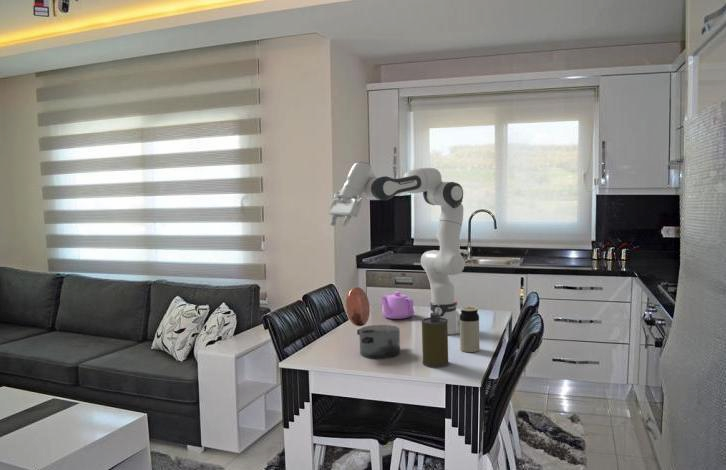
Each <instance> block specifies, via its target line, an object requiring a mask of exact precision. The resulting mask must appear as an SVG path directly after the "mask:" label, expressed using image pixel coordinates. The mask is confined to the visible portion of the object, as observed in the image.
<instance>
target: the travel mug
mask: <svg viewBox="0 0 726 470" xmlns="http://www.w3.org/2000/svg"><path fill="white" fill-rule="evenodd" d="M459 310H460V313H459V314H460V334H459V341H460V342H459V346H460V347H459V349H460V351H462V352H465V353H477V352H479V351H480V315H479V313H478V310H479V308H478V307H476V306H470V305H469V306H467V305H466V306H462V307H460V309H459Z"/></svg>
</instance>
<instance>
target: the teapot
mask: <svg viewBox="0 0 726 470" xmlns="http://www.w3.org/2000/svg"><path fill="white" fill-rule="evenodd" d="M381 298H382V299H381V301H382V306H381V313H382V314H383V316H384V317H385V318H387V319H394V320H403V319H408V318H411V316H414V315H415V313H416V312H415V310H414V299H412V298H411V297H408V296H407V295H406V294H402V293H401V291H394V292H393V294H384V296H381Z"/></svg>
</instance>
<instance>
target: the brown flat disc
mask: <svg viewBox="0 0 726 470" xmlns="http://www.w3.org/2000/svg"><path fill="white" fill-rule="evenodd" d="M345 303H346V312H347V316H348V318H349V320H350V322H351V324H353V326H356V327H362V326H363V327H364V326H365V325H366V324H367V322H369V317H370V301H369V298H368V295H367V293H366V292H365V291H364V289H362V288H361V287H357V286H355V287H352V288H350V290H349V292H348V294H347V296H346V302H345Z"/></svg>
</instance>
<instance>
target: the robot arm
mask: <svg viewBox="0 0 726 470" xmlns="http://www.w3.org/2000/svg"><path fill="white" fill-rule="evenodd" d="M406 192H407V193H409V194H419V193H422V195H423V199H424V202H426V204H428V205H432V206H440V208H441V213H440V216H439V220H438V224H437V229H436V234H435V237H436V239H437V240H438V243H439V249H437V250H435V249H432V250H427V251H424V253H423V254H422V255H421V257H420V265H421V267H422V268H423V270H424V272H425V273H426V276H427V278H428V281H429V285H430V299H431V301H430V305H429V306H430V311H429V312H428V314H427V318H429V317H430V315H431V313H439V315H440V316H439V317H441V318H446V319H448V322H447V326H448V336H449V335H456V334H457V335H458V334H459V335H460V314H461V313H460V312H459V311H458V310H457V306H458V301H457V300H455V286H454V283H452V282H451V281H450V278H449V276H456V275H459V274H460V275H461V273H462V272H463V271H464V268H465V266H466V265H465V258H464V257H463V256H462V254H461V250H460V235H461V231H462V227H463V221H464V206H463V204H462V203H463V199H464V190H463V186H462V185H461V184H460V183H458V182H455V181H443V180H442V175H441V172H440V171H439V169H437V168H434V167H419V168H415V169H411V170H408V171H406V172H404V174H403V177H398V178H392V177H389V176H386V175H385V176H380V177H377V176H376V174H375V173H374V170H373V166H372V165H371V164H370V163H367V162H364V161H358V162H354V163H353V165H352V167H351V168H350V170H349V172H348V173H347V176H346V181H345V183H344V184H343V186H342V188H341V189H339V190H338V191H337V192H335V193H334V194H333V195H334V196H333V200H332V202H331V204H330V206H329V209H328V215H330V216H331V219H330V221H331V222H330V223H329V225H331V226H333V227H335V226H336V224H337V219H338V218H344V219H343V220H342V221H341V223H340V226H342V227H346V226H347V224H348V223H349V222H350V221H351V219H352V218H353V219H354V218H355V219H356V218H357V217H358V215H359V213H360V210H361V206H362V198H364V199H366V200H368V201H388V200H391V199H392V198H394V197H395V196H397V195H398V194H401V193H406Z"/></svg>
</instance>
